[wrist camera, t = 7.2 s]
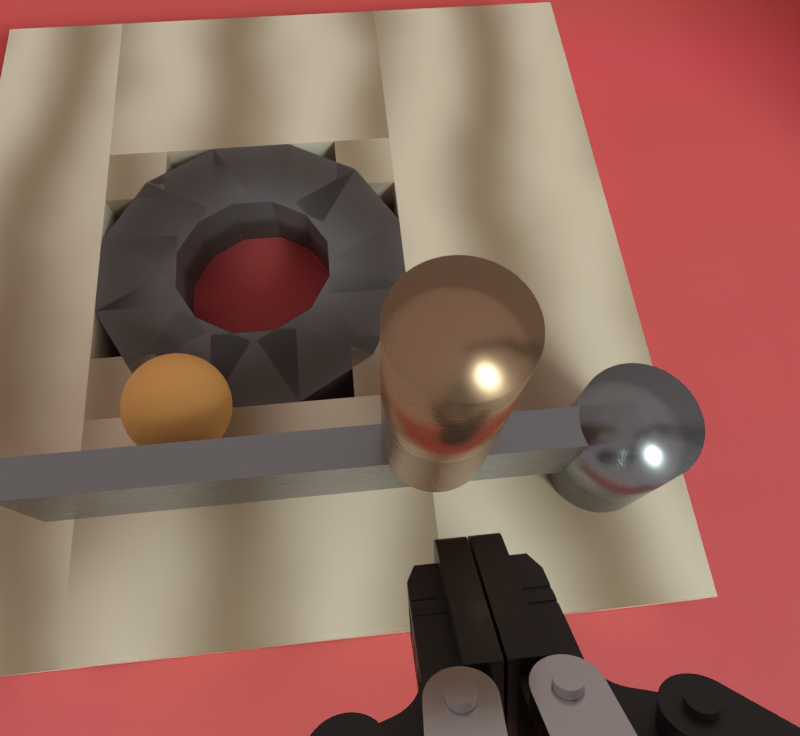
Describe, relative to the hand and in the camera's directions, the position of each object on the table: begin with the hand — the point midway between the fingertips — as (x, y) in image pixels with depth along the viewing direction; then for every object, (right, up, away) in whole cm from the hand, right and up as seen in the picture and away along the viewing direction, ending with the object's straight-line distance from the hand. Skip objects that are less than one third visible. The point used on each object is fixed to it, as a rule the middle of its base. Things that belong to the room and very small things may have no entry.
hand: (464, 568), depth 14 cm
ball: (-9, +3, +7) cm, 11 cm away
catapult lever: (-3, +1, +8) cm, 8 cm away
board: (-6, +8, +13) cm, 17 cm away
